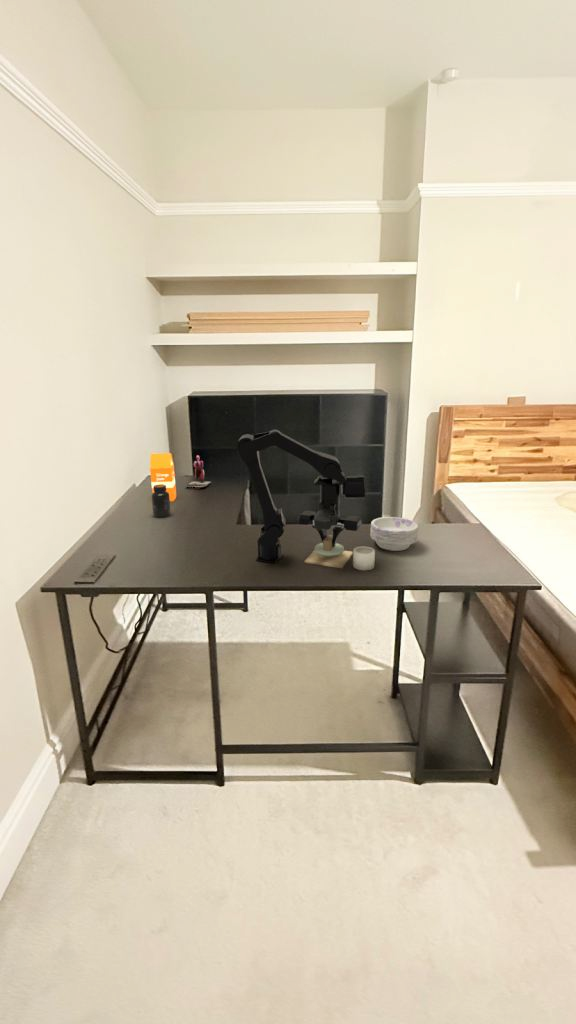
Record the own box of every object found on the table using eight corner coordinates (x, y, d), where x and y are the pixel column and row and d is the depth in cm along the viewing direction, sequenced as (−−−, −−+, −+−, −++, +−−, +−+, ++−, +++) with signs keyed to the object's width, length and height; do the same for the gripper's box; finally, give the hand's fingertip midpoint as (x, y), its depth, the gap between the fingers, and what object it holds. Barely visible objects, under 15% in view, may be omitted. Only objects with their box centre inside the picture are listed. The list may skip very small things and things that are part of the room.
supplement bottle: (149, 517, 205) (146, 487, 201) (159, 511, 211) (156, 482, 207) (165, 518, 203) (162, 488, 199) (174, 513, 209) (171, 484, 205)
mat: (304, 562, 161) (304, 560, 161) (317, 548, 172) (317, 546, 172) (342, 568, 157) (342, 566, 157) (353, 553, 167) (353, 551, 167)
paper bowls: (418, 540, 178) (420, 517, 175) (414, 557, 164) (416, 533, 162) (373, 535, 182) (374, 514, 180) (366, 552, 169) (367, 528, 166)
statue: (192, 485, 252) (190, 454, 249) (211, 486, 250) (210, 454, 247) (184, 489, 241) (182, 456, 238) (203, 489, 240) (202, 456, 237)
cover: (310, 553, 161) (310, 541, 160) (320, 543, 169) (320, 531, 168) (338, 557, 158) (339, 545, 157) (347, 546, 166) (347, 535, 165)
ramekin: (350, 568, 157) (350, 552, 155) (356, 560, 162) (356, 545, 161) (371, 571, 154) (372, 555, 153) (376, 563, 160) (377, 548, 159)
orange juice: (156, 496, 231) (152, 451, 225) (176, 495, 232) (172, 451, 225) (153, 501, 224) (148, 455, 217) (174, 501, 224) (170, 455, 218)
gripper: (291, 502, 155) (291, 551, 160) (352, 509, 148) (351, 560, 153) (304, 492, 164) (304, 539, 169) (362, 498, 158) (361, 546, 162)
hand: (329, 546), depth 163 cm, fingers closed on cover, 2 cm apart
